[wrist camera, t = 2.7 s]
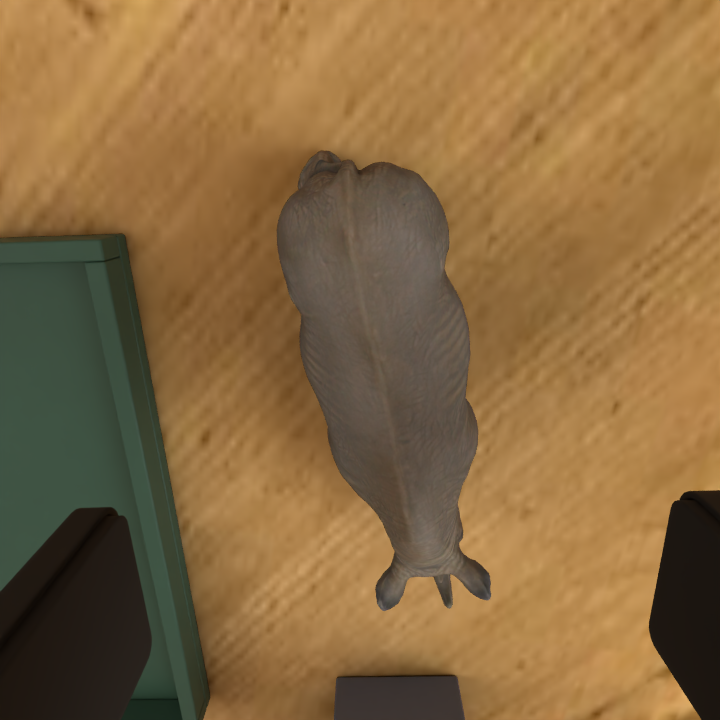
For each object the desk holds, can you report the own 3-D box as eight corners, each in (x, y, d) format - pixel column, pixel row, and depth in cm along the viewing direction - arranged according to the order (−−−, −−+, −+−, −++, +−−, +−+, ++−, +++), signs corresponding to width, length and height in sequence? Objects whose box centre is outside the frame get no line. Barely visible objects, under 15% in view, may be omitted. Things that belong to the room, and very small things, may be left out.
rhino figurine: (374, 551, 19) (377, 712, 13) (275, 163, 14) (213, 152, 9) (484, 532, 18) (537, 689, 13) (418, 129, 14) (453, 94, 8)
